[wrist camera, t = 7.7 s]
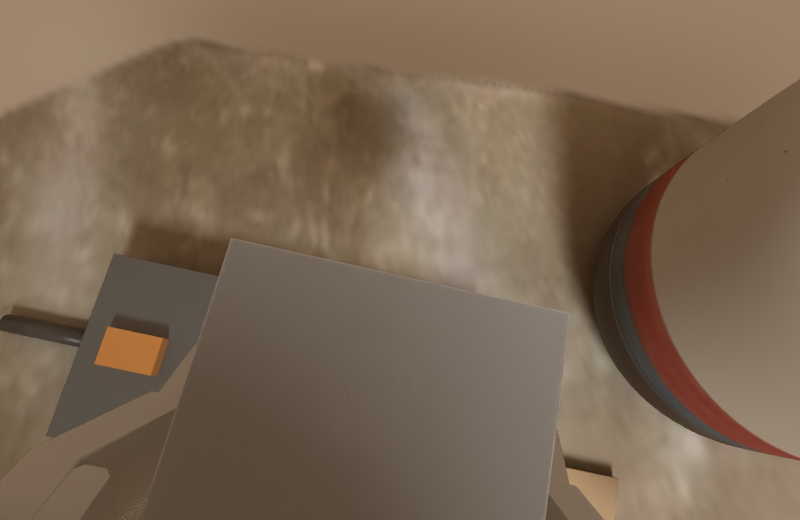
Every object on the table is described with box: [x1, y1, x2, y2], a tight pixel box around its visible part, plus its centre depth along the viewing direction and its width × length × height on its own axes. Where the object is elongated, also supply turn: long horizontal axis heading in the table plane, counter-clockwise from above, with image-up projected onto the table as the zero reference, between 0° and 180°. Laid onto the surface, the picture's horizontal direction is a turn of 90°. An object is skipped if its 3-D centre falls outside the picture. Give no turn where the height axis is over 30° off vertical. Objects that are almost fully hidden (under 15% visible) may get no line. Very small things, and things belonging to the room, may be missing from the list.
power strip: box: [0, 254, 219, 438], centre depth 27 cm, size 10×28×4 cm, turn 78°
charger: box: [140, 238, 571, 520], centre depth 11 cm, size 5×5×10 cm
